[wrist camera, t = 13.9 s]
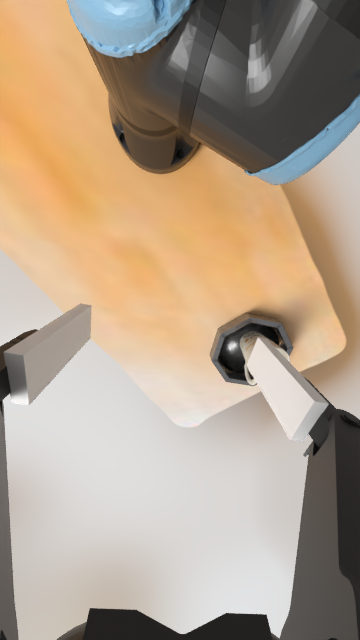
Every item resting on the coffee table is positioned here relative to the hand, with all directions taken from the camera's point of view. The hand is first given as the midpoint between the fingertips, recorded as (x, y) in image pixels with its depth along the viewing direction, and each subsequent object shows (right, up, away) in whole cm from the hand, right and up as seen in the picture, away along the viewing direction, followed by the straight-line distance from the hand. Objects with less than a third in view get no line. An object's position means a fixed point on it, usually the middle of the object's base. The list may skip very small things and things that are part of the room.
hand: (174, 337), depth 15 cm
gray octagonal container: (+18, -6, +34) cm, 39 cm away
